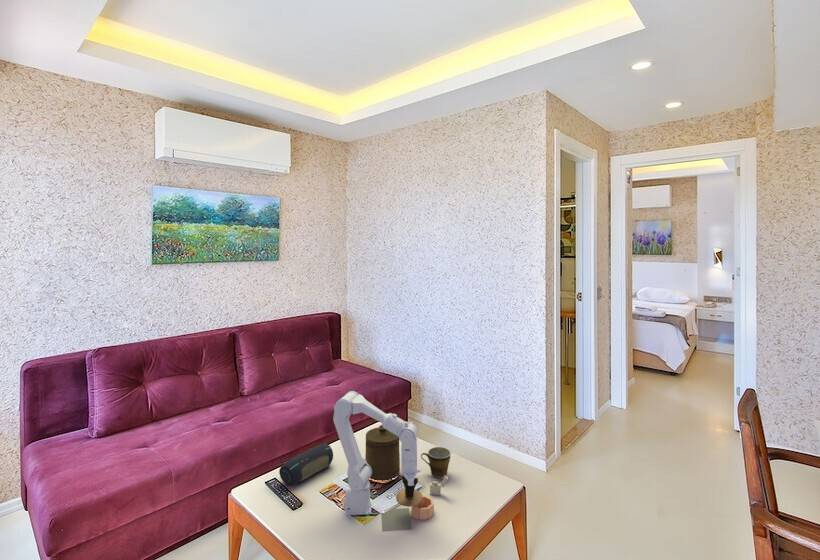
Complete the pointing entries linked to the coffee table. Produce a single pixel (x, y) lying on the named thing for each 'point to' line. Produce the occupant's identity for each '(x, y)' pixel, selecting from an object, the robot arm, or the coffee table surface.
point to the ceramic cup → (438, 461)
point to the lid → (409, 498)
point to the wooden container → (382, 453)
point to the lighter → (437, 486)
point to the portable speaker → (306, 464)
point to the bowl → (423, 509)
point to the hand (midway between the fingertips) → (409, 493)
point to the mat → (396, 520)
